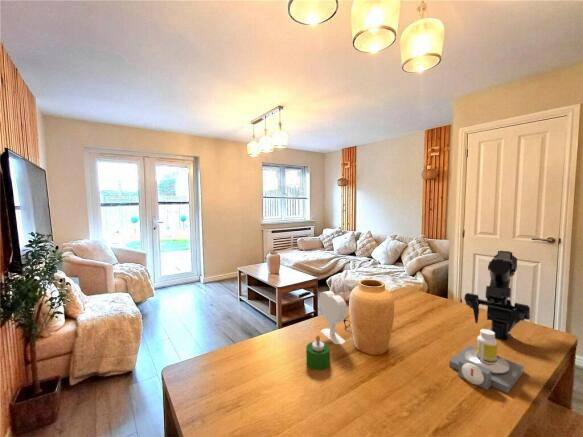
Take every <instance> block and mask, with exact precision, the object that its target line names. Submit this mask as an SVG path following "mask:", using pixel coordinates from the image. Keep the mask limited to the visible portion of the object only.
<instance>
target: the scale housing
mask: <svg viewBox="0 0 583 437" xmlns="http://www.w3.org/2000/svg"><path fill="white" fill-rule="evenodd" d="M470 350H477V346H476V347H475V346H472V345H470V344H469V345H467V347H465V348H463V350H461V351H460V352H458V354H456V355H454V357H452V358H451V359H450V360H449V367H450V368H452V369H454V370H457V371H458V374H457V376H458V377H459V378H462V379H463V380H466V381H468V382H469V383H471V384H473V385H477V386H478V387H481V388H482V389H485V390H487V391H488V390H489V389H490V387H493V388H494V389H497V390H498V391H502V392H503V393H506V394H508V393H509V392H510V391H511V389H512V388H513V387H514V385H515V384H516V383H517V382H518V380H519V378H520V377H521V376H522V375H523V374H524V372H525V365H523V364H520V363H517V362H514V361H511V360H509V359H507V358H505V357H504V358H503V357H502V356H500V357H501V358H502V359H504V360H505V361H506V362H507V363H508V364H509V371H508V372H507V373H505V374H493V373H492V370H490V369H488V368H485V367H483V366H481V365H478V364H476V363H474V362H471V361H469V360H467V359H465V353H466V352H467V351H470Z"/></svg>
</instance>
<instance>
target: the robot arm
mask: <svg viewBox="0 0 583 437" xmlns="http://www.w3.org/2000/svg"><path fill="white" fill-rule="evenodd" d="M487 269H488V271H489V276H490V283H489V285H486V288H485V299H482V298H480V297H479V295H478V294H475V293H470V292H467V293H465V294H464V297H463V298H464V299H463V300H464V301H465V304H466V305H467V306H468V307H469V308H470V309H472V311H473V317H474V322H475V324H478V322H479V314H480V305H482V306H486V307H487V308H486V318H487V319H486V320H488V321H490V323H491V324H490V325H491V328H490V330H491V331H493V332H494V333H495V338H499V339H501V340H504V341H508V340H509V339H510V338H511V337H512V334H511V333H510V332H511V331H512V330H513V329H514V328H515V326H516V325H517V324H519V323H520V321H523V322H524V321H525V320H531V319H530V318H531V307H530V306H529V305H528V304H524V303H519V302H515V303H514V304H513V305H512V301H511V300H510V298H511V297H512V296H511V295H512V287H510V283H511V278H512V277H513V276H515V273H516V271H517V270H518V258H517V257H516V256H515V255H513V251H509V250H508V251H507V250H497V254H496V255H494V256H493V258H492V259H491V261H489V263H488V266H487Z"/></svg>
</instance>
